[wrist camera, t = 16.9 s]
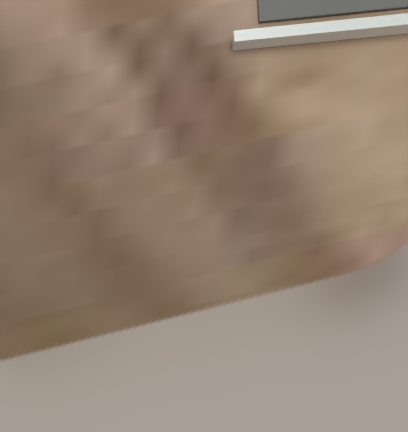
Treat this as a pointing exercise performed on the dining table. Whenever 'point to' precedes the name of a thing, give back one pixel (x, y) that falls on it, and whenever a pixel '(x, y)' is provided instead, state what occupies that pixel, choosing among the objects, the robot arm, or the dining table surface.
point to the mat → (321, 8)
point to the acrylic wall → (320, 32)
